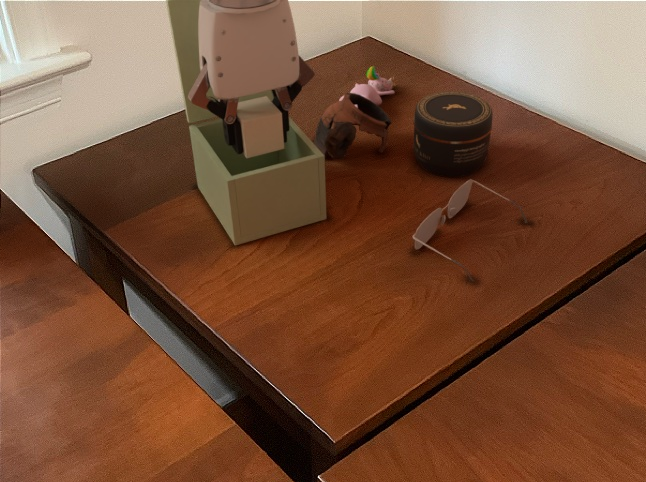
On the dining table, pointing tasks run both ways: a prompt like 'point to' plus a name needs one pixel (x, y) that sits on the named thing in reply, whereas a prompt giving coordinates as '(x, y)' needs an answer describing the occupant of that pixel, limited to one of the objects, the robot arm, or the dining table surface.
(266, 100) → the block
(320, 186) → the chest
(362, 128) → the brown crumpled piece
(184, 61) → the lid
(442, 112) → the jar
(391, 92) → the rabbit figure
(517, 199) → the dining table surface
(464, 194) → the eyeglasses
